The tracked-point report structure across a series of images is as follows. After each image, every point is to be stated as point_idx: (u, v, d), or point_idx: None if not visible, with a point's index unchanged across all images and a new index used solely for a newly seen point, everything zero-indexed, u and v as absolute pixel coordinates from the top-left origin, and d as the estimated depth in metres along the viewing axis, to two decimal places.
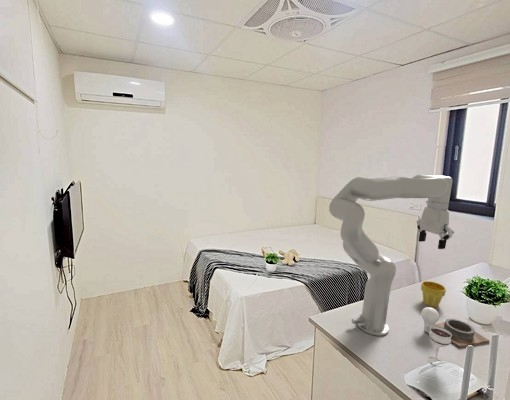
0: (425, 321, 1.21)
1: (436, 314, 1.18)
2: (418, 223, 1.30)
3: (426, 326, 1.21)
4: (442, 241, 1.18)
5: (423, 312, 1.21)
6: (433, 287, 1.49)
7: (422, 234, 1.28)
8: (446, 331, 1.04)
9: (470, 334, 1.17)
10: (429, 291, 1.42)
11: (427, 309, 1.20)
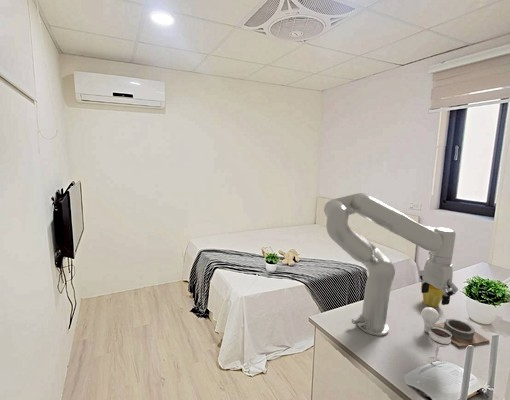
0: (425, 321, 1.21)
1: (436, 314, 1.18)
2: (421, 273, 1.25)
3: (426, 326, 1.21)
4: (446, 297, 1.14)
5: (423, 312, 1.21)
6: (433, 287, 1.49)
7: (425, 286, 1.23)
8: (446, 331, 1.04)
9: (470, 334, 1.17)
10: (429, 291, 1.42)
11: (427, 309, 1.20)
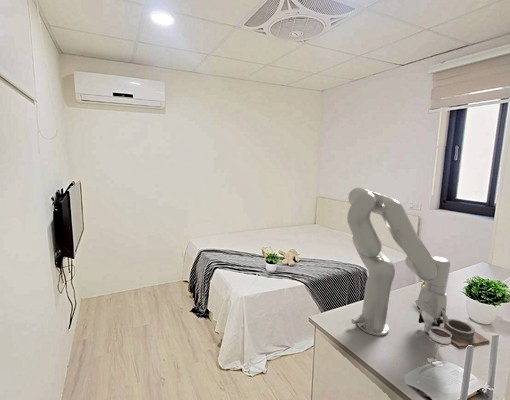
0: (425, 321, 1.21)
1: None
2: None
3: (426, 326, 1.21)
4: (436, 325, 1.18)
5: (423, 312, 1.21)
6: None
7: None
8: (446, 331, 1.04)
9: (470, 334, 1.17)
10: None
11: None
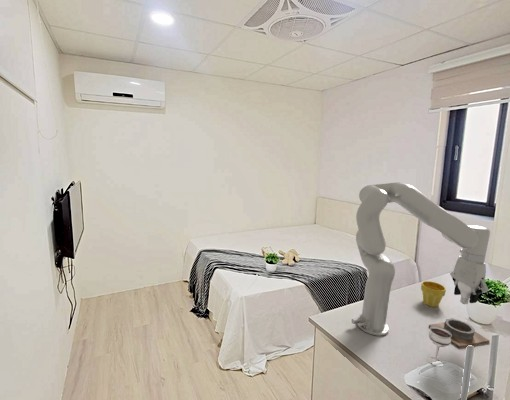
0: (462, 292, 1.18)
1: None
2: (452, 275, 1.24)
3: (463, 297, 1.18)
4: (474, 295, 1.15)
5: (460, 283, 1.18)
6: (433, 287, 1.49)
7: None
8: (446, 331, 1.04)
9: (470, 334, 1.17)
10: (429, 291, 1.42)
11: None
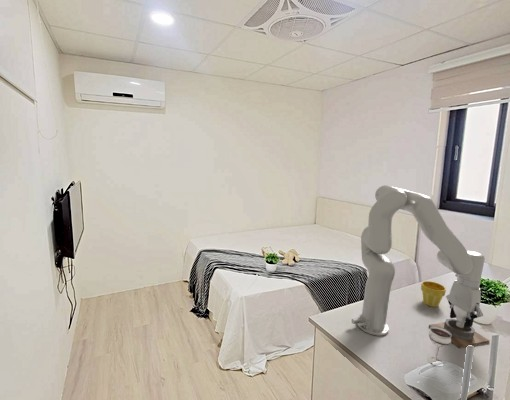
0: (458, 316, 1.20)
1: None
2: (448, 298, 1.26)
3: (459, 321, 1.20)
4: (469, 320, 1.17)
5: (455, 307, 1.20)
6: (433, 287, 1.49)
7: None
8: (446, 331, 1.04)
9: (470, 334, 1.17)
10: (429, 291, 1.42)
11: None
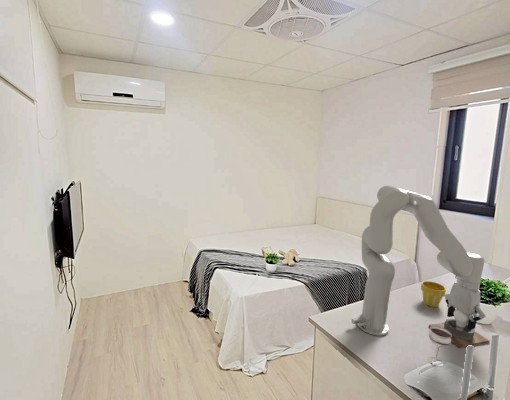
0: (457, 321, 1.20)
1: None
2: (446, 297, 1.26)
3: (458, 326, 1.20)
4: (472, 322, 1.15)
5: (456, 312, 1.20)
6: (433, 287, 1.49)
7: (451, 310, 1.24)
8: (446, 331, 1.04)
9: (470, 334, 1.17)
10: (429, 291, 1.42)
11: None
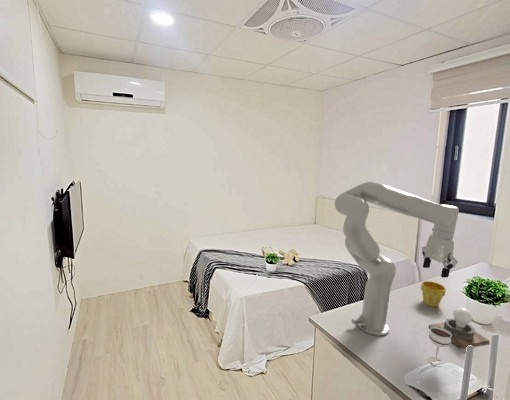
0: (457, 321, 1.20)
1: (469, 315, 1.17)
2: (423, 249, 1.31)
3: (458, 326, 1.20)
4: (445, 270, 1.20)
5: (456, 313, 1.20)
6: (433, 287, 1.49)
7: (426, 261, 1.29)
8: (446, 331, 1.04)
9: (470, 334, 1.17)
10: (429, 291, 1.42)
11: (460, 310, 1.19)
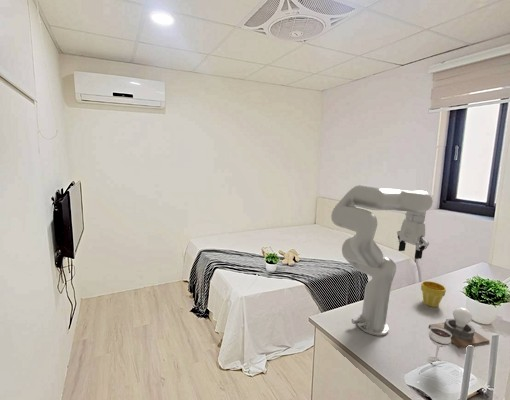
0: (457, 321, 1.20)
1: (469, 314, 1.18)
2: (398, 234, 1.38)
3: (458, 326, 1.20)
4: (418, 251, 1.27)
5: (455, 312, 1.20)
6: (433, 287, 1.49)
7: (402, 244, 1.36)
8: (446, 331, 1.04)
9: (470, 334, 1.17)
10: (429, 291, 1.42)
11: (460, 309, 1.20)
